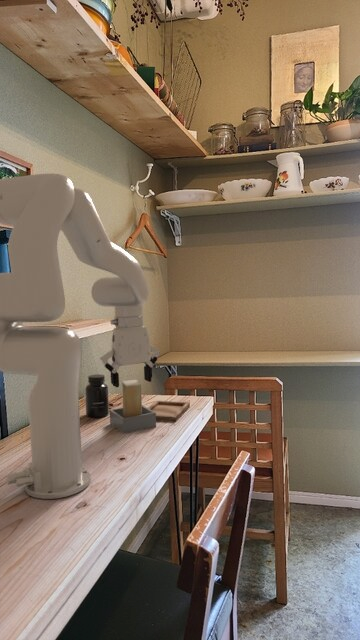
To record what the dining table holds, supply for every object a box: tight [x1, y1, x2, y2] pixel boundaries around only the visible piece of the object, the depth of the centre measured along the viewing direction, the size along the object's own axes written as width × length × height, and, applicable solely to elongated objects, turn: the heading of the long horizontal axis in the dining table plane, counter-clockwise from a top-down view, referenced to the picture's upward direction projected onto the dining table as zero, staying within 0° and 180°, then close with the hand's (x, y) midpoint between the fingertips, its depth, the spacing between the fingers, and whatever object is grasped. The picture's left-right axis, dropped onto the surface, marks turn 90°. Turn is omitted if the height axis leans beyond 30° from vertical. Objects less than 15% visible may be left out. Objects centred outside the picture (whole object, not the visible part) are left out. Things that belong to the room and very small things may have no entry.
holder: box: [109, 404, 157, 434], centre depth 123 cm, size 10×10×4 cm
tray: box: [147, 400, 191, 423], centre depth 134 cm, size 15×11×1 cm
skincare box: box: [121, 379, 143, 418], centre depth 123 cm, size 6×4×12 cm
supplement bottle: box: [84, 374, 110, 419], centre depth 133 cm, size 7×7×12 cm
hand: (132, 383), depth 123 cm, fingers open, 9 cm apart
